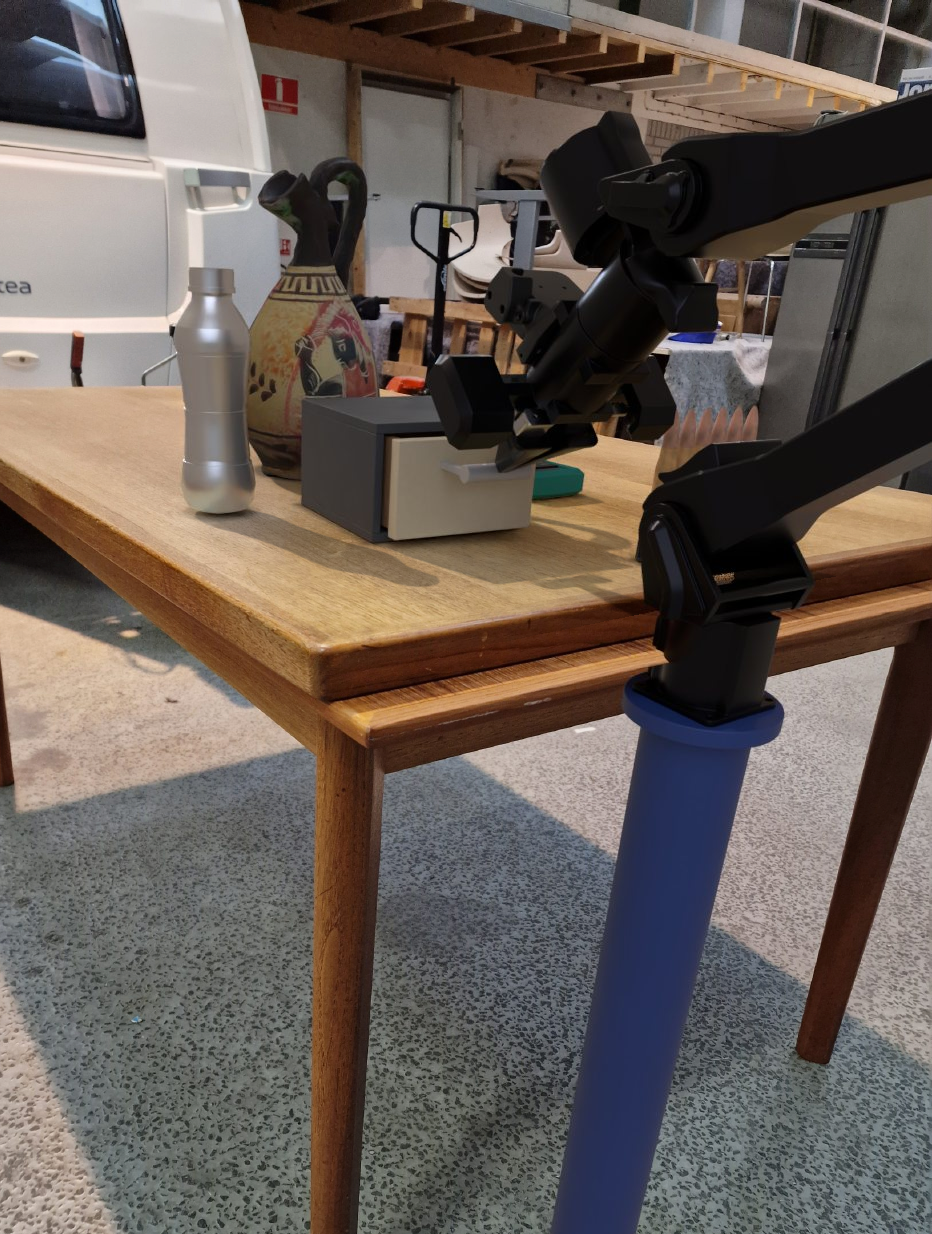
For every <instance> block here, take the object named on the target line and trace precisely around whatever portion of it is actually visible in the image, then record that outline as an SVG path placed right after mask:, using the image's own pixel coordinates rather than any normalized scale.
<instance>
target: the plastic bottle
mask: <svg viewBox="0 0 932 1234" xmlns="http://www.w3.org/2000/svg"><path fill="white" fill-rule="evenodd" d="M187 292H189V293H190V292H191V297H190V301H189V303H188V304H187V305H186V307H185V308H184V310H183V312H182V313H181V315H180V317H179V319H178V321H177V322H176V324H175V328H174V331H173V332H174V333H173V346H174V349H175V357H176V361H177V367H178V373H179V378H180V384H181V392H182V394H181V395H182V402H183V403H184V404H183V405H184V407H183V413H184V445H183V448H184V449H183V456H184V458H183V459H182V464H181V475H180V485H181V490H182V494H183V495H182V496H183V499H184V501H185V503H186V504H187V505H188V506H189V508H190V509H192V510H194V511H197V512H203V513H208V514H215V515H225V514H229V513H230V514H231V513H236V512H240V511H244V510H247V509H248V508H249V507H250V506H251V504H252V502H253V501H254V499H255V492H256V491H255V490H256V484H257V482H256V475H255V474H256V473H255V469H254V464H253V460H252V458H251V449H250V448H251V447H250V443H249V437H248V428H247V408H246V403H247V385H248V376H249V366H250V357H251V354H250V351H251V345H252V338H251V335H250V331H249V329H250V327H249V326H248V324H247V323H246V320H245V318H244V317H243V315H242V314H241V312H240V311H239V308H238V307H237V306H236V304H235V303H234V301H233V294H236V287H235V271H234V268H222V267H221V268H219V267H203V266H202V267H198V266H189V267H188V285H187Z"/></svg>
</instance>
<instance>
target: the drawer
mask: <svg viewBox="0 0 932 1234" xmlns="http://www.w3.org/2000/svg"><path fill="white" fill-rule="evenodd" d="M497 449H498V445H497V446H495V447H493V448H491V449H473V450H457V449H456V448H455V447H453V446H452V445H450V444H449V443H448V440H447V437H446V435H445V432H444V431H440V432H416V433H393V434H384V451H383V475H382V498H381V522H380V525H382V526H384V527H386V528H388V537H390V538H391V539H393V540H398V541H403V540H402V539H408V540H413V539H412V538H418V539H423V538H422V537H428V538H434V537H433V536H438V537H444V536H443V535H448V536H454V535H453V534H458V535H464V534H463V533H468V534H474V533H473V532H478V533H484V532H483V531H488V532H494V531H493V530H499V531H504V530H503V529H509V530H515V529H523V528H529V527H530V522H531V521H530V520H531V512H532V505H533V504H532V502H533V499H532V495H533V486H534V477H535V468H536V463H535V464H532V465H529V466H526V467H523V468H520V469H517V470H514V471H511V472H508V473H499V472H498V470H497V468H496V465H495V458H496V453H497ZM514 528H515V529H514Z"/></svg>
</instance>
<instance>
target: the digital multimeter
mask: <svg viewBox="0 0 932 1234" xmlns="http://www.w3.org/2000/svg"><path fill="white" fill-rule="evenodd" d="M584 480H585V472H584V471H582V470H581V469H580V467H575V466H571V465H568V464H564V463H559V462H555V461H551V460H545V461H541V462H538V463H536V468H535V477H534V486H533V495H532V500H541V499H542V500H544V499H554V498H563V497H569V496H575V495H578V494H579V493H581V492H582V491H583V488H584V482H585V481H584Z"/></svg>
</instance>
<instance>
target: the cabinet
mask: <svg viewBox="0 0 932 1234" xmlns="http://www.w3.org/2000/svg"><path fill="white" fill-rule="evenodd" d="M440 431H444V429H443V427H442V424H441V421H440V419H439V416H438V413H437V411H436V408H435V405H434V403H433V400H432V397H431V395H399V396H398V395H397V396H396V395H395V396H393V395H392V396H391V395H390V396H380V397H349V398H307V399H302V448H301V480H300V484H301V485H300V495H301V496H300V503H301V504H300V505H302V506H304V507H306V508H307V509H309V510H311V511H313V512H315V513H317V514H318V515H320V516H322V517H324V518H325V519H327V520H329V521H331V522H332V523H335V524H336V525H338V526H340V527H342V528H344V529H345V530H347V531H349V532H351V533H353V534H355V535H357V536H358V537H360V538H362V539H364V540H366V541H367V542H368V543H371V544H375V543H386V542H396V541H398V542H399V540H393V539H391V538H390V537H388V528H386V527H384V526H382V525H380V522H381V498H382V475H383V451H384V434H393V433H416V432H440ZM515 529H516V528H514V529H513V530H515ZM508 530H510V529H503V530H502V531H508ZM497 531H499V532H500V530H493V531H492V532H497ZM488 532H489V531H483V532H482V533H488ZM476 533H479V532H473V533H472V534H476ZM467 534H469V533H463V534H462V535H467ZM455 535H456V536H457V535H459V534H453V535H452V536H455ZM448 536H449V535H443V536H442V537H448ZM435 537H439V536H433V537H432V538H435ZM427 538H429V537H422V538H421V539H427ZM417 539H419V538H412V539H411V540H417ZM406 540H409V539H402V540H401V541H406Z"/></svg>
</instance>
